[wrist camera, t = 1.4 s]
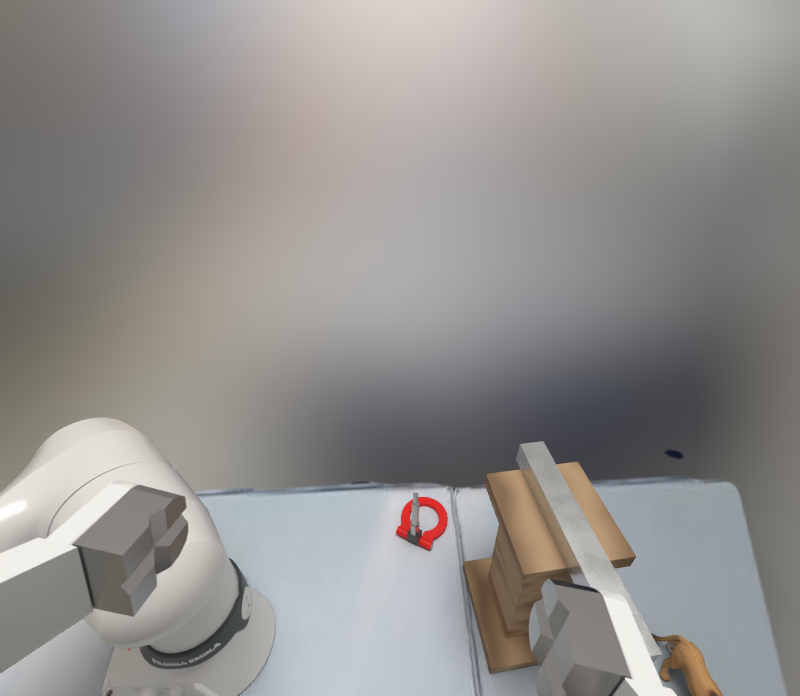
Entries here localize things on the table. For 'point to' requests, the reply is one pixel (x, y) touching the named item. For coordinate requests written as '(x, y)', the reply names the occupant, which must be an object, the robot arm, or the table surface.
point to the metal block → (574, 531)
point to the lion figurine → (688, 666)
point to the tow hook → (412, 528)
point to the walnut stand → (528, 562)
